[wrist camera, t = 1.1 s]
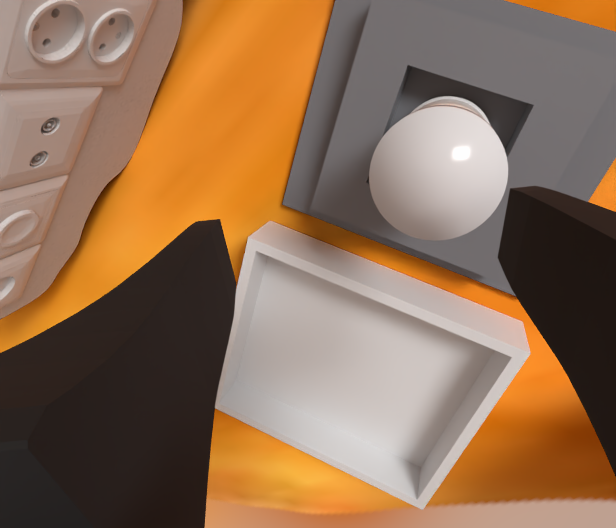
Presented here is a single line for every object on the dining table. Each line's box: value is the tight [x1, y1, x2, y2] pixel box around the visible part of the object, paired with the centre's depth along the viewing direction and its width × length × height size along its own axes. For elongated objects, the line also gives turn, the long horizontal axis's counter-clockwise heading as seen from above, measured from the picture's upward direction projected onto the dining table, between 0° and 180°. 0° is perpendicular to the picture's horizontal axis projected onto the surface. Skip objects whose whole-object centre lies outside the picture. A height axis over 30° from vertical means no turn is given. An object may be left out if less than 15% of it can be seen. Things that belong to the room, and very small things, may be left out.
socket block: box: [282, 0, 616, 296], centre depth 20 cm, size 14×12×2 cm
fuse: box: [369, 95, 508, 241], centre depth 17 cm, size 4×4×8 cm
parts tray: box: [215, 221, 530, 510], centre depth 26 cm, size 15×13×3 cm
